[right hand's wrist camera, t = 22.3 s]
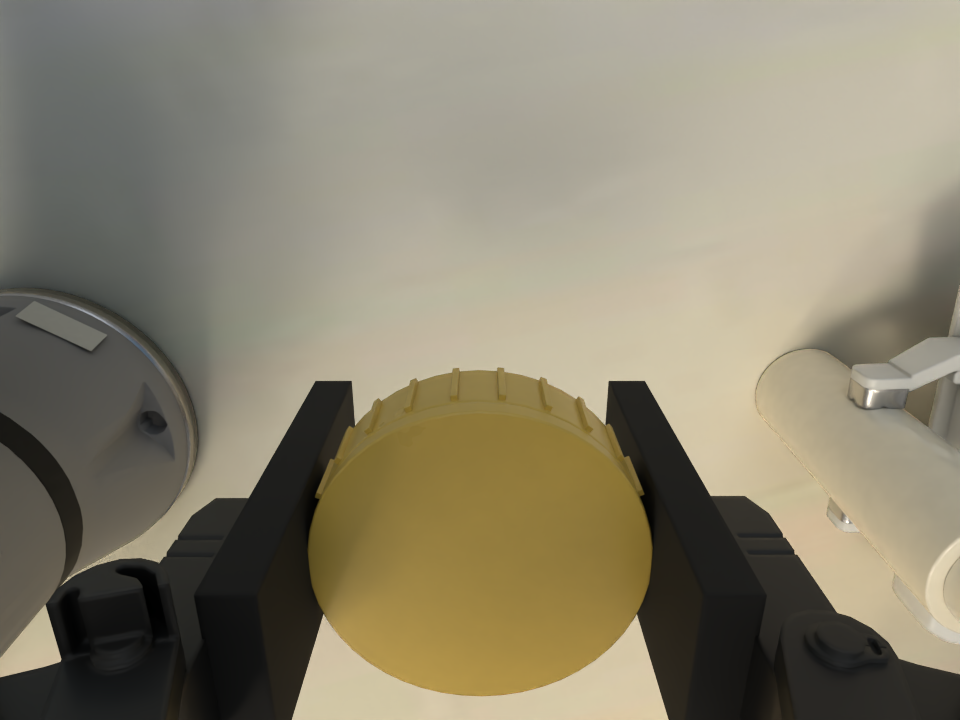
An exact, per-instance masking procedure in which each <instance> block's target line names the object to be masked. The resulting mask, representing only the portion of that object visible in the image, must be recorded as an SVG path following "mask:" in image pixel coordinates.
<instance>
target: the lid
mask: <svg viewBox="0 0 960 720" xmlns="http://www.w3.org/2000/svg"><path fill="white" fill-rule="evenodd" d="M642 495H644V492H643V489H642V487H641V484H640V482H639V479H638V477H637V474H636V472H635V470H634V467H633V465H632V462H631V460H630V457H629V456H627V457H624V456H623V453H622V451H621V448H620V446H619V443H618V441H617V438H616V436H615V433H614V431H613V428H612V426H611V425H610V424H607V425H606V426H605V425H604V424H603V423H602V422H601V421H600V420H599V419H598V417H597V416H596V415H595V414H594V413H593V412H592V411H590V410H589V409H588V408H587V407H586V405H585V402H584V400H583V399H582V398H581V397H578V398H577V399H575V398H573V397H572V396H570V395H568V394H567V393H565V392H563V391H562V390H560V389H558V388H556V387H553V386H551V385H549V384H547V379H545V378H542V377H541V378H540V380H536V379H533V378H529V377H526V376H523V375H518V374H512V373H506V372H504V368H497V371H483V370H475V371H461V372H460V370H459V368H454V369H453V371H452V373H448V374H443V375H438V376H434V377H431V378H428V379H425V380H422V381H419V382H418V381H417V379H416V378H415V379H413V380H411V381H410V385H409V386H407V387H405V388H403V389H401V390H399V391H397V392H395V393H393V394H392V395H390V396H389V397H387V398H386V399H384V400H383V401H381V400H380V399H379V398H378V399H377V400H375V401H374V403H373V406H372V409H371V410H370V411H369V412H368V413H367V414H366V415H364V417H363V418H362V419H361V420H360V421H359V422H358V423H357V424H356V426H355V427H354V428H352V427H350V426H349V427H348V428H347V430H346V432H345V434H344V437H343V439H342V442H341V444H340V447H339V449H338V452H337V454H336V457H335V459H334V460H333V459H330V461H329V463H328V466H327V468H326V471H325V473H324V475H323V478H322V480H321V483H320V485H319V488H318V490H317V492H316V495H315V498H317V499H319V501H318V504H317V507H316V509H315V512H314V515H313V519H312V522H311V526H310V529H309V538H308V559H309V569H310V577H311V584H312V588H313V590H314V593H315V596H316V598H317V601H318V604H319V606H320V608H321V609H322V611H323V613H324V615H325V617H326V618H327V620H328V622H329V623H330V624H331V626H332V627H333V628H334V630H335V631H336V632H337V634H338V635H339V636H340V637H341V638H342V639H343V640H344V641H345V642H346V644H347V645H348V646H349V647H350V648H351V649H352V650H354V651H355V652H356V653H357V654H359V655H360V656H361V657H362V658H364V659H365V660H366V661H367V662H369V663H370V664H372V665H374V666H375V667H377V668H378V669H380V670H382V671H383V672H385V673H387V674H389V675H391V676H393V677H395V678H397V679H399V680H402V681H404V682H407V683H410V684H412V685H415V686H418V687H421V688H425V689H429V690H433V691H437V692H441V693H448V694H455V695H465V696H494V695H506V694H512V693H518V692H524V691H528V690H532V689H535V688H539V687H543V686H546V685H548V684H551V683H554V682H556V681H559V680H561V679H563V678H565V677H567V676H569V675H571V674H573V673H575V672H577V671H579V670H581V669H582V668H584V667H585V666H587V665H588V664H590V663H591V662H593V661H595V660H596V659H597V658H598V657H600V656H601V655H602V654H603V653H604V652H606V651H607V650H608V649H609V648H610V647H611V646H612V645H613V644H614V643H615V642H616V641H617V640H618V639H619V638H620V637H621V636H622V634H623V633H624V632H625V631H626V629H627V628H628V626H629V625H630V624H631V622H632V621H633V619H634V618H635V616H636V614H637V612H638V610H639V608H640V606H641V604H642V602H643V600H644V597H645V594H646V591H647V588H648V585H649V581H650V573H651V564H652V554H653V542H652V535H651V528H650V524H649V521H648V518H647V515H646V511H645V508H644V506H643V503H642V501H641V498H640V496H642Z"/></svg>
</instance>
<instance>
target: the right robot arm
mask: <svg viewBox="0 0 960 720" xmlns="http://www.w3.org/2000/svg"><path fill="white" fill-rule="evenodd" d="M607 424H610V425H611V426H612V428H613V431H614V433H615V436H616V438H617V441H618V443H619V446H620V448H621V451H622V453H623V456H624V457H627V456H629V457H630V460H631V462H632V465H633V467H634V470H635V472H636V474H637V477H638V479H639V482H640V484H641V487H642V489H643V492H644V495H642V496H640V498H641V501H642V503H643V506H644V508H645V511H646V515H647V518H648V521H649V524H650V528H651V535H652V542H653V554H652V564H651V573H650V581H649V585H648V588H647V591H646V594H645V597H644V600H643V602H642V604H641V606H640V608H639V610H638V612H637V616H638V619H639V622H640V626H641V629H642V632H643V636H644V639H645V642H646V646H647V649H648V652H649V656H650V659H651V662H652V665H653V669H654V672H655V675H656V679H657V682H658V685H659V689H660V692H661V695H662V699H663V702H664V705H665V709H666V712H667V715H668V719H669V720H960V674H955V673H951V672H947V671H942V670H938V669H934V668H930V667H925V666H921V665H917V664H914V663H910V662H907V661H904V660H901V659H899V658H898V657H897V655H896V654H895V652H894V651H893V649H892V647H891V646H890V644H889V643H888V642H887V641H886V640H885V639H884V638H882V637H881V636H880V635H879V634H878V633H877V632H875V631H874V630H873V629H872V628H870V627H869V626H867V625H865V624H863V623H861V622H859V621H857V620H855V619H853V618H851V617H849V616H846V615H842V614H839V613H837V612H836V611H835V609H834V608H833V606H832V605H831V603H830V602H829V600H828V599H827V598H826V596H825V595H824V593H823V592H822V590H821V589H820V587H819V586H818V584H817V583H816V582H815V580H814V579H813V577H812V576H811V574H810V573H809V571H808V570H807V568H806V567H805V566H804V564H803V563H802V561H801V560H800V558H799V557H798V555H795V554H794V549H793V548H792V547H791V545H790V544H789V542H788V541H787V539H786V538H783V533H782V532H781V531H780V529H779V528H778V526H777V525H776V523H775V522H774V520H773V519H772V517H771V516H770V514H769V513H767V512H766V511H765V510H763V509H762V508H760V507H759V506H758V505H756V504H755V503H754V502H752V501H751V500H749V499H748V498H747V497H745V496H710V494H709V493H708V491H707V489H706V487H705V486H704V484H703V482H702V480H701V479H700V477H699V475H698V473H697V472H696V470H695V468H694V466H693V465H692V463H691V461H690V459H689V458H688V456H687V454H686V452H685V451H684V449H683V447H682V445H681V444H680V442H679V440H678V438H677V437H676V435H675V433H674V431H673V430H672V428H671V426H670V424H669V423H668V421H667V419H666V417H665V416H664V414H663V412H662V410H661V409H660V407H659V405H658V403H657V402H656V400H655V398H654V396H653V395H652V393H651V391H650V389H649V388H648V386H647V384H646V382H645V381H609V386H608V399H607V412H606V425H607ZM349 426H350V427H352V428H354V427H355V420H354V407H353V393H352V381H315V383H314V385H313V387H312V388H311V390H310V392H309V394H308V395H307V397H306V399H305V401H304V402H303V404H302V406H301V408H300V409H299V411H298V413H297V415H296V416H295V418H294V420H293V422H292V423H291V425H290V427H289V429H288V430H287V432H286V434H285V436H284V437H283V439H282V441H281V443H280V444H279V446H278V448H277V450H276V451H275V453H274V455H273V457H272V458H271V460H270V462H269V464H268V465H267V467H266V469H265V471H264V472H263V474H262V476H261V478H260V480H259V481H258V483H257V485H256V487H255V488H254V490H253V492H252V494H251V495H250V497H249V498H216V499H214V500H213V501H211V502H210V503H209V504H207V505H206V506H205V507H203V508H202V509H200V510H199V511H198V512H196V513H195V514H194V515H192V516H191V518H190V519H189V521H188V522H187V524H186V525H185V527H184V528H183V530H182V531H181V533H180V534H179V535H178V540H175V541H174V543H173V544H172V546H171V547H170V549H169V550H168V552H167V556H166V557H163V559H162V560H161V562H160V563H158V562H154V561H150V560H146V559H142V558H136V559H119V560H115V561H111V562H107V563H104V564H100V565H96V566H94V567H92V568H90V569H88V570H86V571H83V572H81V573H79V574H77V575H75V576H74V577H72V578H71V579H70V580H68V581H67V582H66V583H64V584H63V585H62V586H61V584H62V583H63V582H64V581H65V580H66V579H67V578H68V577H69V576H71V575H73V574H74V573H76V572H78V571H80V570H82V569H83V568H85V567H87V566H89V565H90V564H92V563H94V562H96V561H97V560H99V559H101V558H103V557H105V556H106V555H108V554H110V553H112V552H113V551H115V550H117V549H119V548H120V547H122V546H124V545H126V544H128V543H129V542H131V541H133V540H135V539H136V538H138V537H139V536H140V535H142V534H143V533H144V532H146V531H147V530H148V529H149V528H151V527H152V526H153V525H154V524H155V523H156V522H157V521H158V520H159V519H161V518H162V516H163V515H164V514H165V513H166V512H167V511H168V510H169V509H170V507H171V506H172V505H173V503H174V502H175V501H176V499H177V498H178V496H179V495H180V494H181V492H182V491H183V490H184V488H185V486H186V484H187V482H188V481H189V478H190V476H191V473H192V471H193V468H194V464H195V460H196V454H197V444H198V434H197V423H196V418H195V413H194V409H193V406H192V403H191V400H190V397H189V395H188V392H187V390H186V388H185V386H184V384H183V382H182V380H181V378H180V376H179V375H178V373H177V372H176V370H175V369H174V367H173V366H172V364H171V363H170V361H169V360H168V359H167V358H166V356H165V355H164V354H163V353H162V351H161V350H160V349H159V348H158V347H157V346H156V345H155V344H154V343H153V342H152V341H151V340H150V339H149V338H148V337H147V336H146V335H144V334H143V333H142V332H141V331H140V330H139V329H137V328H136V327H135V326H133V325H132V324H131V323H129V322H128V321H126V320H125V319H123V318H122V317H120V316H119V315H117V314H116V313H114V312H112V311H110V310H108V309H106V308H104V307H103V306H100V305H98V304H96V303H94V302H91V301H89V300H86V299H83V298H81V297H78V296H75V295H71V294H67V293H63V292H59V291H54V290H48V289H39V288H11V289H3V290H0V657H1V656H2V655H3V654H4V652H5V651H6V650H7V649H8V648H9V647H10V645H11V644H12V643H13V642H14V641H15V639H16V638H17V637H18V636H19V635H20V633H21V632H22V631H23V630H24V629H25V627H26V626H27V625H28V624H29V623H30V622H31V620H32V619H33V618H34V617H35V616H36V614H37V613H38V612H39V611H40V610H41V608H42V607H43V606H44V605H45V604H46V607H47V611H48V614H49V618H50V621H51V624H52V628H53V631H54V635H55V638H56V642H57V645H58V648H59V652H60V655H61V659H62V660H61V662H59V663H56V664H53V665H49V666H46V667H43V668H38V669H34V670H30V671H26V672H21V673H17V674H13V675H9V676H4V677H0V720H292V717H293V713H294V710H295V707H296V703H297V700H298V697H299V694H300V690H301V687H302V684H303V680H304V677H305V674H306V670H307V667H308V664H309V660H310V657H311V654H312V650H313V647H314V644H315V640H316V637H317V634H318V630H319V627H320V624H321V620H322V617H323V614H324V613H323V611H322V609H321V608H320V606H319V604H318V601H317V598H316V596H315V593H314V590H313V588H312V584H311V577H310V569H309V559H308V538H309V529H310V526H311V522H312V519H313V515H314V512H315V509H316V507H317V504H318V501H319V499H317V498H315V495H316V492H317V490H318V488H319V485H320V483H321V480H322V478H323V475H324V473H325V471H326V468H327V466H328V463H329V461H330V459H333V460H334V459H335V457H336V454H337V452H338V449H339V447H340V444H341V442H342V439H343V437H344V434H345V432H346V430H347V428H348V427H349ZM50 597H51V598H50ZM47 601H48V602H47Z"/></svg>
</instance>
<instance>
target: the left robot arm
mask: <svg viewBox="0 0 960 720" xmlns="http://www.w3.org/2000/svg"><path fill="white" fill-rule="evenodd" d="M937 379H938V383H937V388H936V392H935V397H934V401H933V406H932V410H931V414H930V419H929V423H928V427H929V428H930V429H932V430H933V431H934V432H936V433H937V434H938V435H940V436H941V437H942V438H944V439H945V440H946V441H948V442H949V443H950V444H952V445H953V446H954V447H956V448H957V449H958V450H960V285H959V289H958V294H957V298H956V303H955V307H954V312H953V316H952V321H951V325H950V330H949V334H948V337H931V338H927V339H925V340H923V341H922V342H920V343H918V344H916V345H915V346H913V347H911V348H909V349H908V350H906V351H904V352H902V353H901V354H899V355H897V356H895V357H894V358H892V359H890V360H889V361H888V363H874V364H856V365H853V366H852V371H851V377H850V383H849V389H848V395H847V397H848V398H849V399H851V400H855V403H856V404H857V405H858V406H859V407H862V408H864V409H869V410H876V409H881V408H883V407H884V406H885V407H886V408H888V409H904V408H905V404H906V399H907V395H908V391H909V392H911V391H913V390H915V389H917V388H919V387H922V386H924V385H926V384H928V383H930V382H933V381H935V380H937ZM827 517H828V518H829V519H830V520H831V522H832V523H833V524H834V525H835V526H836V527H837V529H839V530H841V531H843V532H848V533H856V532H860V531H859V530H858V529H857V528H856V527H855V526H854V524H853V523H852V522H851V521H850V520H849V519H848V517H847V516H846V515H845V514H844V513H843V512H842V510H841V509H840V508H839V507H838V506H837V505H836V503H835V502H834V501H833V500H832V499H831V498H829V503H828V508H827ZM893 590H894V592H895V594H896V596H897V597H898V598H899V600H900V601H901V602H902V603H903V605H904V606H905V607H906V608H907V610H908V611H909V612H910V613H911V614H912V616H913V617H914V618H915V619H916V620H917V621H918V622H919V623H920V625H921V626H922V627H923V628H925V629H926V630H927V631H928V632H930V633H931V634H932V635H934V636H936V637H937V638H939V639H941V640H943V641H945V642H949V643H954V644H960V634H959V633H956V632H953V631H951V630H949V629H947V628H945V627H944V626H942V625H941V624H940V623H938V622H937V621H936V620H935V619H934V618H933V617H932V615H931V614H930V613H929V612H928V611H927V610H926V608H925V607H924V606H923V605H922V604H921V603H920V601H919V600H918V599H917V598H916V597H915V596H914V594H913V593H912V592H911V591H910V590H909V589H908V587H907V586H906V585H905V584H904V583H903V582H902V580H901V579H900V578H899V577H898V576H897V575H896V573H895V575H894V579H893Z"/></svg>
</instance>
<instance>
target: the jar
mask: <svg viewBox="0 0 960 720" xmlns="http://www.w3.org/2000/svg"><path fill="white" fill-rule="evenodd" d="M851 371H852V369H851V368H849V367H848V366H847V365H845V364H844V363H843V362H841V361H840V360H839V359H837V358H836V357H835V356H833V355H831V354H830V353H827V352H825V351H822V350H817V349H802V350H797V351H793V352H790V353H788V354H786V355H784V356H782V357H780V358H778V359H777V360H776V361H774V362H773V363H772V364H771V365H770V366H769V367H768V368H767V369H766V370H765V372H764V373H763V375H762V376H761V378H760V380H759V382H758V385H757V389H756V406H757V409H758V412H759V414H760V415H761V417H762V418H763V419H764V421H765V422H766V423H767V424H768V425H769V426H770V428H771V429H772V430H773V431H774V432H775V433H776V435H777V436H778V437H779V438H780V439H781V440H782V442H783V443H784V444H785V445H786V446H787V447H788V449H789V450H790V451H791V452H792V453H793V454H794V456H795V457H796V458H797V459H798V460H799V461H800V463H801V464H802V465H803V466H804V467H805V468H806V470H807V471H808V472H809V473H810V474H811V475H812V477H813V478H814V479H815V480H816V481H817V482H818V484H819V485H820V486H821V487H822V488H823V489H824V491H825V492H826V493H827V494H828V495H829V496H830V498H831V499H832V500H833V501H834V502H835V503H836V505H837V506H838V507H839V508H840V509H841V510H842V512H843V513H844V514H845V515H846V516H847V517H848V519H849V520H850V521H851V522H852V523H853V524H854V526H855V527H856V528H857V529H858V530H859V531H860V533H861V534H862V535H863V536H864V537H865V538H866V540H867V541H868V542H869V543H870V544H871V545H872V547H873V548H874V549H875V550H876V551H877V552H878V554H879V555H880V556H881V557H882V558H883V559H884V561H885V562H886V563H887V564H888V565H889V566H890V568H891V569H892V570H893V571H894V572H895V573H896V575H897V576H898V577H899V578H900V579H901V580H902V582H903V583H904V584H905V585H906V586H907V587H908V589H909V590H910V591H911V592H912V593H913V594H914V596H915V597H916V598H917V599H918V600H919V601H920V603H921V604H922V605H923V606H924V607H925V608H926V610H927V611H928V612H929V613H930V614H931V615H932V617H933V618H934V619H935V620H936V621H937V622H938V623H940V624H941V625H942V626H944V627H945V628H947V629H949V630H951V631H953V632H956V633H959V634H960V450H958V449H957V448H956V447H954V446H953V445H952V444H950V443H949V442H948V441H946V440H945V439H944V438H942V437H941V436H940V435H938V434H937V433H936V432H934V431H933V430H932V429H930V428H929V427H928V426H926V425H925V424H924V423H922V422H921V421H920V420H918V419H917V418H916V417H914V416H913V415H912V414H910V413H909V412H908V411H906V410H905V409H888V408H886V407H885V406H884V407H883V408H881V409H876V410H869V409H864V408H862V407H859V406H858V405H857V404H856V403H855V400H851V399H849V398H848V397H847V395H848V389H849V383H850V377H851Z"/></svg>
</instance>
